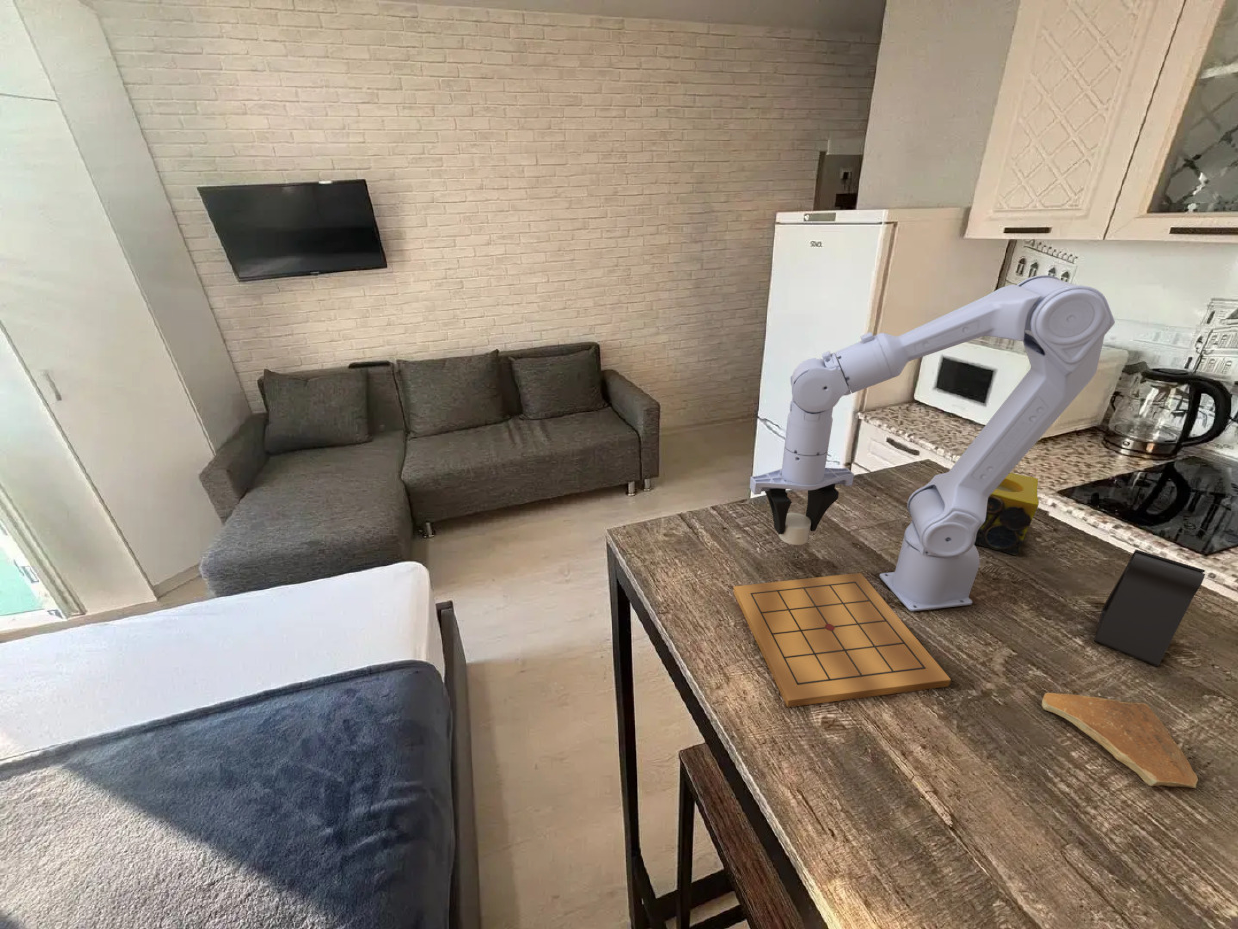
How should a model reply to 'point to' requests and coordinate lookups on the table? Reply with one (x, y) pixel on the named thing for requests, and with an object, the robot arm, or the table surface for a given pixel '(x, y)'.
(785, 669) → the game board
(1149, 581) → the phone stand
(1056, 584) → the table surface
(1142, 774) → the pottery shard
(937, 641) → the table surface
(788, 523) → the white stone
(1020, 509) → the yellow cube with hollow
